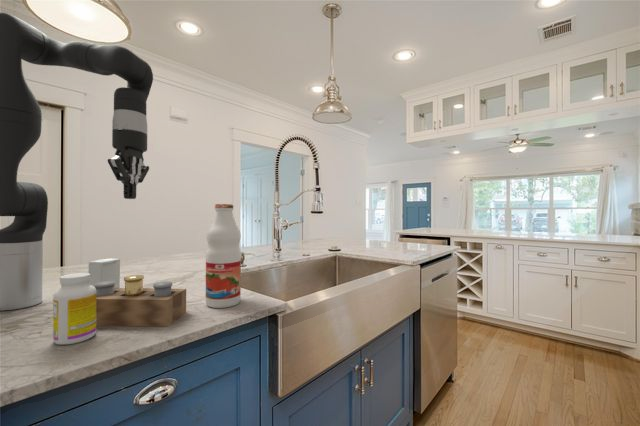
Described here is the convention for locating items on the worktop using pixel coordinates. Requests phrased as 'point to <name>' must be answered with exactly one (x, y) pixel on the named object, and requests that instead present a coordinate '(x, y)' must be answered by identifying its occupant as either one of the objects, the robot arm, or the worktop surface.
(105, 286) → the plug
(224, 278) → the fruit juice
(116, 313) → the socket block
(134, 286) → the plug mid
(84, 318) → the supplement bottle
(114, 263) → the skincare box
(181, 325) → the worktop surface
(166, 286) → the plug
